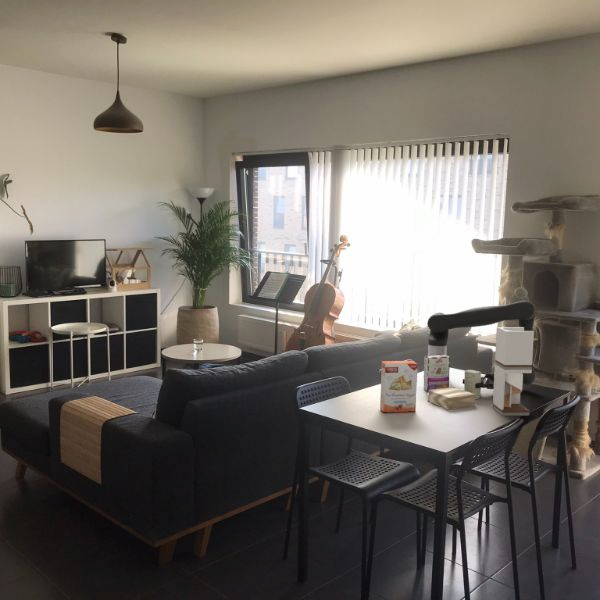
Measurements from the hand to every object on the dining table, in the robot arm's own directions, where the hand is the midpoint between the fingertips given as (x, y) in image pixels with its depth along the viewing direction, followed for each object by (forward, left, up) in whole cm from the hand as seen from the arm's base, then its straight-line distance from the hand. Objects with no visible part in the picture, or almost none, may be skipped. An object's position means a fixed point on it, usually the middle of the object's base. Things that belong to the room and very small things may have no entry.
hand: (469, 383), depth 287 cm
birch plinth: (+4, -13, -7) cm, 15 cm away
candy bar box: (-17, -5, -7) cm, 19 cm away
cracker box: (+4, -41, -7) cm, 42 cm away
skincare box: (0, +2, -7) cm, 7 cm away
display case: (+24, +2, -7) cm, 25 cm away
